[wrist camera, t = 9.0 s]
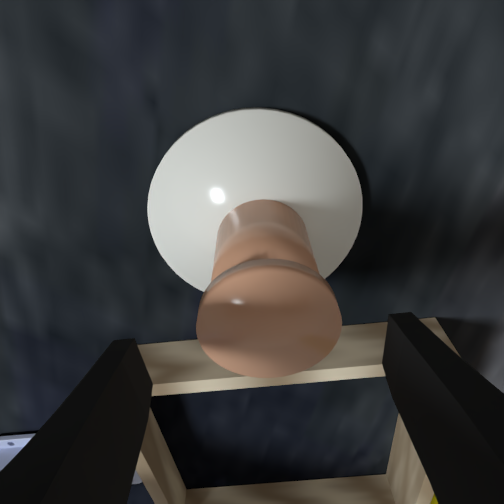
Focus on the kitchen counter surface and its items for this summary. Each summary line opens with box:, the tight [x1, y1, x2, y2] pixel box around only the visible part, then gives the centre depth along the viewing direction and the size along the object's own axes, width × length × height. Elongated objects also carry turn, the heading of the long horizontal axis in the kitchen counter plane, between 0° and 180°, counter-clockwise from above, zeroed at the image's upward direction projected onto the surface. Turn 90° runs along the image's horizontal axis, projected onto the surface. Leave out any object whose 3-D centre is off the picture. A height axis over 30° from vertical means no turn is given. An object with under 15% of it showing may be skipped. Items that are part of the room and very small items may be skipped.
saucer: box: [147, 107, 362, 292], centre depth 17 cm, size 10×10×1 cm
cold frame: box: [136, 317, 460, 504], centre depth 25 cm, size 20×20×4 cm
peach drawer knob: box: [196, 199, 342, 378], centre depth 15 cm, size 5×5×6 cm
